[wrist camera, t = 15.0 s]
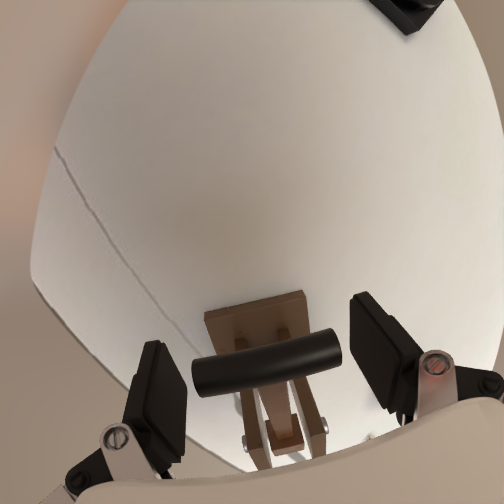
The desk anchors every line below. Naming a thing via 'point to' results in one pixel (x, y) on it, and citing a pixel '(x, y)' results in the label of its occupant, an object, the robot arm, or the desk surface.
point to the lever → (270, 379)
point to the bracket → (258, 334)
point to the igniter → (408, 12)
